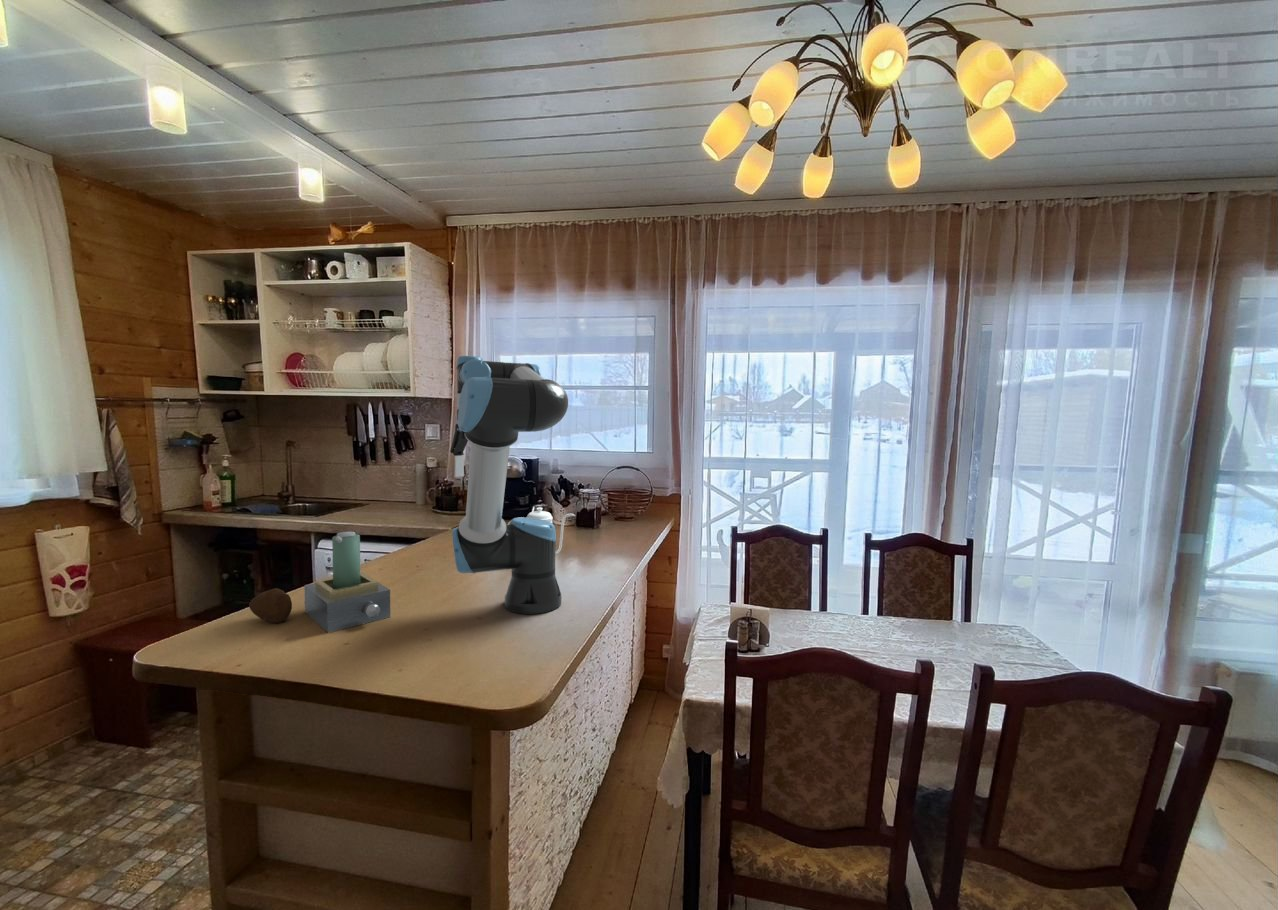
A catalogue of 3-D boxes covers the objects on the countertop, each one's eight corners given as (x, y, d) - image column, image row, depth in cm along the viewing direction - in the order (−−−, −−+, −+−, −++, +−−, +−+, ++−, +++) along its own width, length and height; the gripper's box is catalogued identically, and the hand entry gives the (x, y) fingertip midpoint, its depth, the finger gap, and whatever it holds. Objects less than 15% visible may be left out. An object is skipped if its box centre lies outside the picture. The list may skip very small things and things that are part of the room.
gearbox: (395, 620, 128) (394, 586, 128) (332, 636, 118) (331, 600, 117) (363, 599, 142) (363, 568, 142) (305, 612, 132) (304, 579, 132)
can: (341, 583, 134) (340, 530, 133) (365, 583, 134) (364, 530, 133) (325, 592, 126) (324, 536, 125) (350, 593, 127) (349, 537, 126)
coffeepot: (571, 565, 179) (572, 511, 178) (501, 562, 181) (501, 508, 180) (578, 557, 190) (578, 506, 188) (511, 554, 192) (511, 503, 191)
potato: (277, 628, 122) (276, 595, 121) (242, 624, 124) (240, 592, 123) (303, 617, 129) (302, 585, 129) (269, 613, 131) (268, 582, 130)
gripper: (504, 408, 151) (503, 481, 152) (461, 408, 168) (461, 474, 169) (480, 408, 145) (480, 483, 147) (438, 408, 162) (439, 475, 164)
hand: (470, 478), depth 158 cm, fingers open, 13 cm apart
